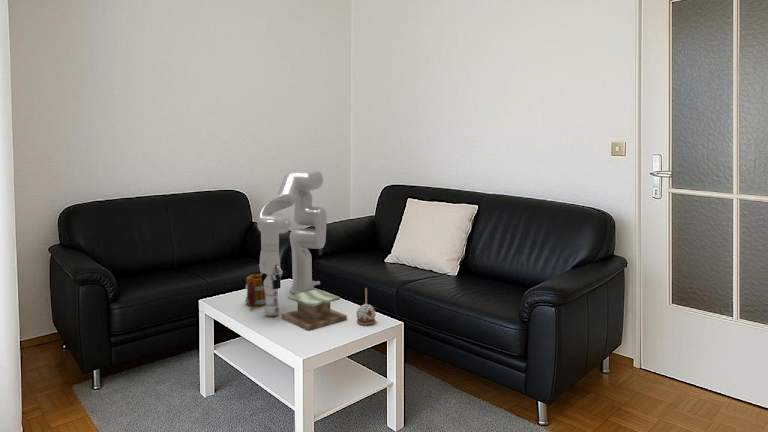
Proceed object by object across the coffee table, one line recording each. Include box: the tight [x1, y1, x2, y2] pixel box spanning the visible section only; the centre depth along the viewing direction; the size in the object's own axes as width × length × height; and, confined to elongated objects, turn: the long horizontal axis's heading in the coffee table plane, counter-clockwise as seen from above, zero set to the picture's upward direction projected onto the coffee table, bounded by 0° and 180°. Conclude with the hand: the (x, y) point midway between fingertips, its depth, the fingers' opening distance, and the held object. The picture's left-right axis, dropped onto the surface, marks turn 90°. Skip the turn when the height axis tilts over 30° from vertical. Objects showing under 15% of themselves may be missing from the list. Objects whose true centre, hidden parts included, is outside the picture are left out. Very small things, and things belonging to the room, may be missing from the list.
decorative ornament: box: [356, 287, 376, 326], centre depth 253 cm, size 8×8×15 cm
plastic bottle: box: [263, 274, 281, 317], centre depth 261 cm, size 6×7×20 cm
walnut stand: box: [281, 288, 348, 331], centre depth 257 cm, size 20×20×10 cm
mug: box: [244, 274, 265, 309], centre depth 275 cm, size 11×16×15 cm, turn 174°
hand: (270, 286), depth 260 cm, fingers open, 9 cm apart
